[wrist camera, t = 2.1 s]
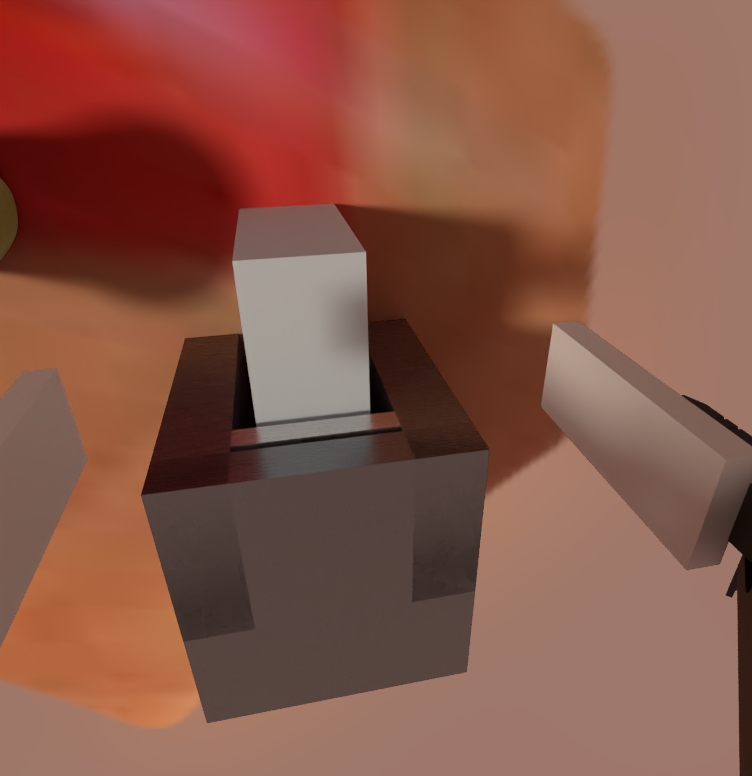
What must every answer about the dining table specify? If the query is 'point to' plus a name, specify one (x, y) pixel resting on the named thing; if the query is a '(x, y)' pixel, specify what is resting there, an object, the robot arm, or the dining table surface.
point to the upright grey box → (302, 313)
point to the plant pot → (7, 219)
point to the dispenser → (317, 531)
